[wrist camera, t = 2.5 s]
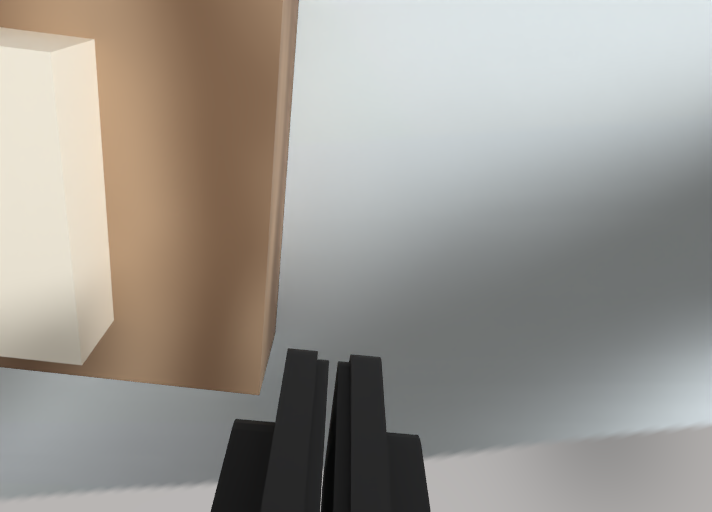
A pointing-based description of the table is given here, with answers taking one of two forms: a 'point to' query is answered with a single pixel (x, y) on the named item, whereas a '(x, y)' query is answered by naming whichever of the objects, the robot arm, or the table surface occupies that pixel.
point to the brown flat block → (185, 181)
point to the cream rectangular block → (51, 200)
